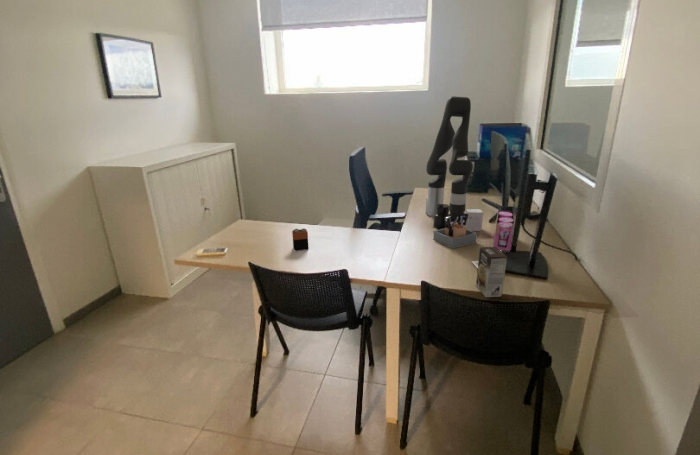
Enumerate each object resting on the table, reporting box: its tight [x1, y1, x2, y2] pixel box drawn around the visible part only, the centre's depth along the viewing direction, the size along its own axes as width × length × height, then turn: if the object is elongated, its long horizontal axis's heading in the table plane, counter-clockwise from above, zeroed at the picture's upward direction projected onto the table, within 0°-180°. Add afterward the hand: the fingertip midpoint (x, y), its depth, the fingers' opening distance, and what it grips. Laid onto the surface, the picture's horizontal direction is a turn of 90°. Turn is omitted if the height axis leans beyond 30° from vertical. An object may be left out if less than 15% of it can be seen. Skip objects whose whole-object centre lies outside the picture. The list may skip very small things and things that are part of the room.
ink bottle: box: [432, 203, 450, 230], centre depth 205 cm, size 10×9×12 cm
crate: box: [432, 228, 478, 249], centre depth 187 cm, size 13×15×5 cm
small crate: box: [445, 222, 466, 239], centre depth 186 cm, size 9×5×6 cm, turn 30°
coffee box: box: [475, 246, 508, 298], centre depth 138 cm, size 9×6×16 cm
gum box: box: [492, 209, 515, 251], centre depth 181 cm, size 24×8×14 cm, turn 158°
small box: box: [465, 208, 484, 232], centre depth 201 cm, size 8×6×10 cm
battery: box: [291, 228, 309, 252], centre depth 179 cm, size 4×7×10 cm, turn 105°
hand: (454, 234), depth 187 cm, fingers closed on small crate, 4 cm apart
